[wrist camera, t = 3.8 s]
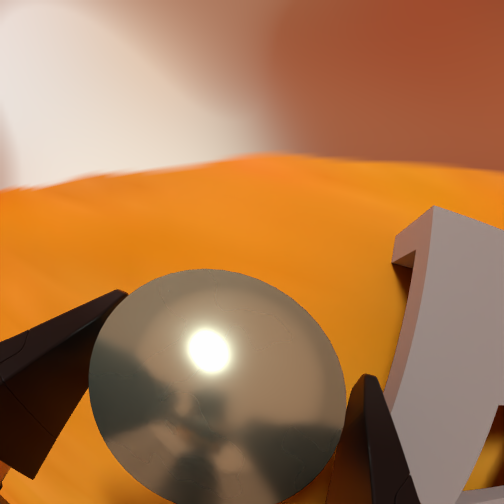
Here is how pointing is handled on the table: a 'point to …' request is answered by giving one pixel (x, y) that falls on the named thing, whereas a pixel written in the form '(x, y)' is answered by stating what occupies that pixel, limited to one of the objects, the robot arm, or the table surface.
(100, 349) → the grey beige cylinder
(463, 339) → the base
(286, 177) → the table surface
